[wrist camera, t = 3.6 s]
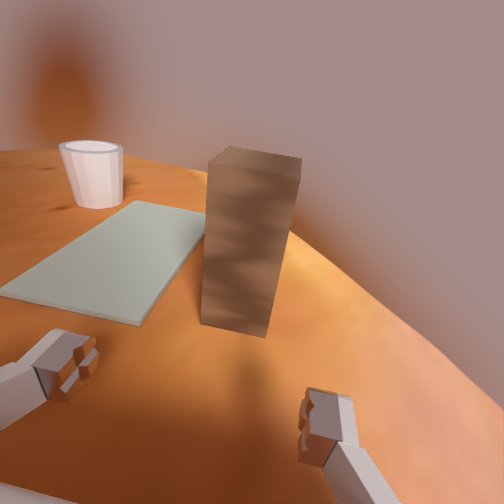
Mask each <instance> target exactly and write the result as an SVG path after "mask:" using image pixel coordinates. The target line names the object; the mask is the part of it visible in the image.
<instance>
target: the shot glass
mask: <svg viewBox="0 0 504 504" xmlns="http://www.w3.org/2000/svg"><path fill="white" fill-rule="evenodd" d="M59 150H60V153H61V157H62V160H63V163H64V166H65V170H66V173H67V176H68V179H69V182H70V186H71V189H72V192H73V195H74V198H75V202H76V203H77V204H78V205H79V206H82V207H85V208H92V209H104V208H110V207H114V206H117V205H120V204H121V203H122V202H123V147H121V146H120V145H118V144H114V143H110V142H102V141H89V140H86V141H70V142H65V143H61V144H60V145H59Z"/></svg>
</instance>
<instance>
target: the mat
mask: <svg viewBox="0 0 504 504" xmlns="http://www.w3.org/2000/svg"><path fill="white" fill-rule="evenodd" d="M205 217H206V213H201V212H196V211H191V210H185V209H180V208H175V207H169V206H164V205H159V204H154V203H148V202H143V201H138V200H135V201H134V202H132V203H131V204H129V205H128V206H126V207H124V208H123V209H121V210H120V211H118V212H117V213H115V214H114V215H112V216H111V217H109V218H107V219H106V220H104V221H103V222H101V223H100V224H98V225H97V226H95V227H94V228H92V229H90V230H89V231H87V232H86V233H84V234H83V235H81V236H80V237H78V238H77V239H75V240H73V241H72V242H70V243H69V244H67V245H66V246H64V247H63V248H61V249H60V250H58V251H56V252H55V253H53V254H52V255H50V256H49V257H47V258H46V259H44V260H42V261H41V262H39V263H38V264H36V265H35V266H33V267H32V268H30V269H29V270H27V271H25V272H24V273H22V274H21V275H19V276H18V277H16V278H15V279H13V280H12V281H10V282H8V283H7V284H5V285H4V286H2V287H1V288H0V296H4V297H9V298H13V299H18V300H22V301H27V302H31V303H35V304H40V305H44V306H49V307H53V308H58V309H62V310H67V311H71V312H76V313H80V314H85V315H89V316H94V317H98V318H103V319H107V320H112V321H116V322H121V323H125V324H130V325H134V326H139V327H140V325H141V324H142V322H143V321H144V319H145V318H146V317H147V315H148V314H149V312H150V311H151V309H152V308H153V307H154V305H155V304H156V302H157V301H158V299H159V298H160V297H161V295H162V294H163V292H164V291H165V290H166V288H167V287H168V285H169V284H170V282H171V281H172V280H173V278H174V277H175V275H176V274H177V272H178V271H179V270H180V268H181V267H182V265H183V264H184V262H185V261H186V260H187V258H188V257H189V255H190V254H191V252H192V251H193V250H194V248H195V247H196V245H197V244H198V242H199V241H200V240H201V238H202V237H203V235H204V234H205Z"/></svg>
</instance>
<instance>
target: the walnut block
mask: <svg viewBox="0 0 504 504" xmlns="http://www.w3.org/2000/svg"><path fill="white" fill-rule="evenodd" d="M301 161H302V159H301V158H295V157H289V156H283V155H277V154H271V153H265V152H259V151H253V150H248V149H242V148H235V147H228V148H227V149H225V150H224V151H223V152H221V153H220V154H219V155H217V156H216V157H215V158H213V159H212V160H210V161H209V162H208V177H207V197H206V217H205V237H204V257H203V276H202V296H201V316H200V324H203V325H207V326H212V327H216V328H221V329H225V330H230V331H235V332H239V333H244V334H248V335H253V336H257V337H262V338H266V334H267V329H268V325H269V320H270V316H271V311H272V306H273V302H274V297H275V293H276V288H277V284H278V279H279V275H280V270H281V266H282V261H283V256H284V252H285V247H286V243H287V238H288V234H289V229H290V224H291V220H292V215H293V211H294V206H295V202H296V197H297V192H298V188H299V184H300V179H301Z"/></svg>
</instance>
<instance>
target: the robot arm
mask: <svg viewBox="0 0 504 504" xmlns="http://www.w3.org/2000/svg"><path fill="white" fill-rule="evenodd" d="M95 345H96V340H95V338H93V337H89V336H85V335H81V334H77V333H73V332H69V331H65V330H61V329H57V328H55V329H53V330H51V331H49V332H48V333H47V334H46V335H45V336H44V337H43V338H42V339H41V340H40V341H39V342H37V343H36V344H35V345H34V346H33V347H32V348H31V349H30V350H29V351H28V352H27V353H26V354H25V355H24V356H22V357H21V358H20V359H19V360H18V361H17V362H16V363H15V362H11V363H8V364H6V365H4V366H1V367H0V431H2V430H3V429H5V428H6V427H8V426H9V425H11V424H12V423H14V422H15V421H17V420H18V419H20V418H21V417H23V416H25V415H26V414H28V413H29V412H31V411H32V410H34V409H35V408H37V407H38V406H40V405H41V404H43V403H44V402H46V401H47V400H52V401H56V402H61V403H66V404H70V403H71V401H72V400H73V399H74V397H75V396H76V395H77V393H78V392H79V391H80V390H81V388H82V381H83V380H85V379H87V378H89V377H90V376H91V375H92V373H93V372H94V371H95V369H96V367H97V364H98V361H99V353H98V351H97V350H96V349H95V348H94V346H95ZM46 399H47V400H46ZM298 428H299V430H300V431H301V434H300V437H299V439H298V462H301V463H304V464H308V465H311V466H315V467H318V468H322V471H323V473H324V475H325V478H326V480H327V482H328V484H329V486H330V489H331V491H332V493H333V495H334V498H335V500H336V502H337V504H401V502H400V501H399V499H398V498H397V496H396V495H395V493H394V492H393V490H392V489H391V487H390V486H389V484H388V483H387V481H386V480H385V478H384V477H383V475H382V474H381V472H380V471H379V469H378V468H377V466H376V465H375V463H374V462H373V460H372V459H371V457H370V456H369V454H368V453H367V451H366V450H365V448H364V447H360V446H359V440H358V433H357V427H356V421H355V414H354V408H353V402H352V399H351V397H350V396H347V395H342V394H337V393H335V392H331V391H326V390H321V389H317V388H312V387H308V388H307V389H306V392H305V399H303V400H302V403H301V406H300V411H299V420H298ZM0 504H79V503H75V502H71V501H68V500H64V499H61V498H57V497H53V496H50V495H46V494H43V493H39V492H35V491H32V490H28V489H25V488H21V487H17V486H14V485H10V484H7V483H3V482H0Z"/></svg>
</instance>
